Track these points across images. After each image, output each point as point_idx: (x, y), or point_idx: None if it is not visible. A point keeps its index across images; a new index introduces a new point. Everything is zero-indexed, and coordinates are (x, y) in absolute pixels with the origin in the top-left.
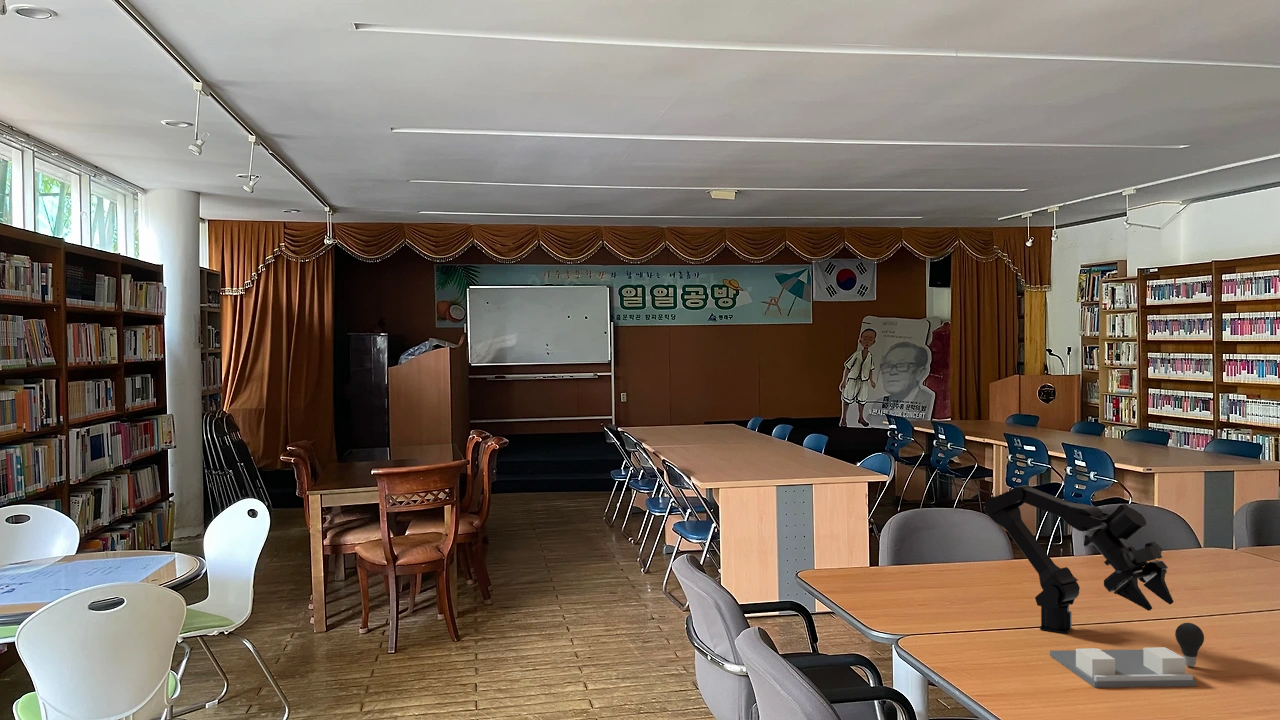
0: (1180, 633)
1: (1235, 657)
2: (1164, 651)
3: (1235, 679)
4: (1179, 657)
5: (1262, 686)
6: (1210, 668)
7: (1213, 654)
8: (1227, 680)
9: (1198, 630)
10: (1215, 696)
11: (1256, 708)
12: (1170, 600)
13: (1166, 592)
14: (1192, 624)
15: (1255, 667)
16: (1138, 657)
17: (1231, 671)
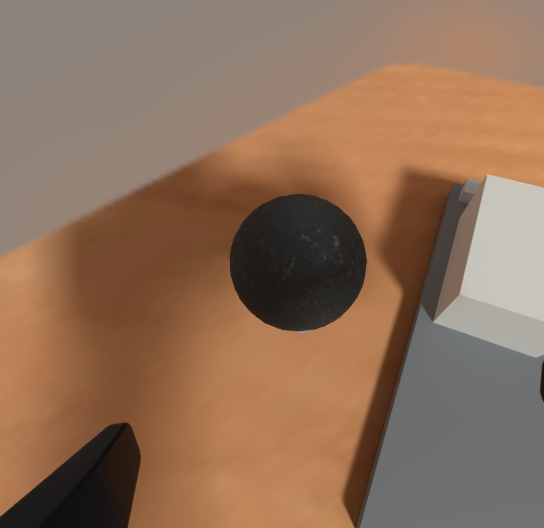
0: (364, 258)
1: (52, 317)
2: (513, 257)
3: (274, 192)
4: (506, 185)
5: (260, 141)
6: None
7: (78, 373)
8: None
9: (296, 194)
10: (458, 134)
11: (422, 68)
12: (122, 448)
13: (59, 522)
14: (292, 212)
15: (110, 233)
16: (478, 445)
17: (213, 237)
